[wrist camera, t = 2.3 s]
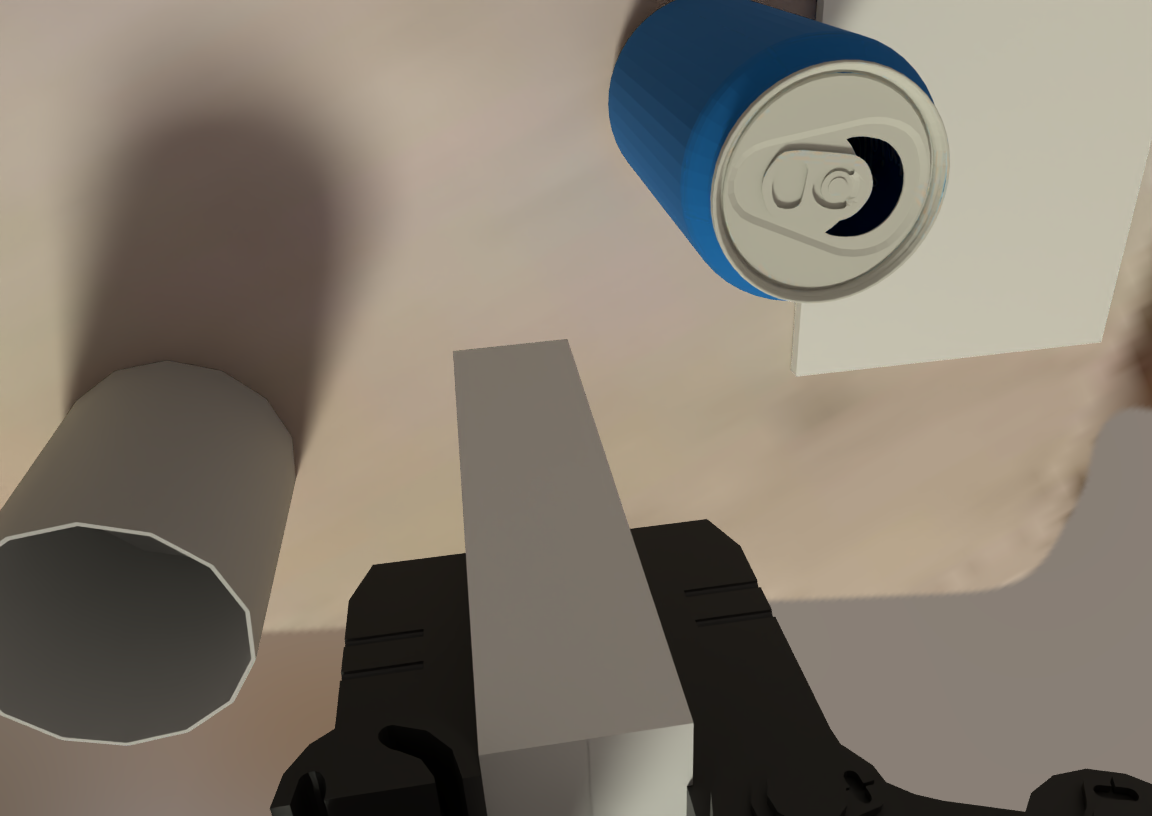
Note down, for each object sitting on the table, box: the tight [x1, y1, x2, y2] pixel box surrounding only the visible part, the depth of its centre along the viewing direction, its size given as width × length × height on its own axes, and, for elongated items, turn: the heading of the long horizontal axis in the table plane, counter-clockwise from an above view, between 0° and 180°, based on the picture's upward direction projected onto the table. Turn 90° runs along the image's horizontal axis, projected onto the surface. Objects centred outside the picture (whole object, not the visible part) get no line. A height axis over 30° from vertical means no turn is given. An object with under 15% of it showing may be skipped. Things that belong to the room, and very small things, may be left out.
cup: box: [0, 361, 296, 746], centre depth 31 cm, size 8×8×10 cm
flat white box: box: [791, 0, 1152, 377], centre depth 32 cm, size 22×13×1 cm, turn 3°
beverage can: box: [608, 0, 950, 303], centre depth 26 cm, size 6×6×12 cm
